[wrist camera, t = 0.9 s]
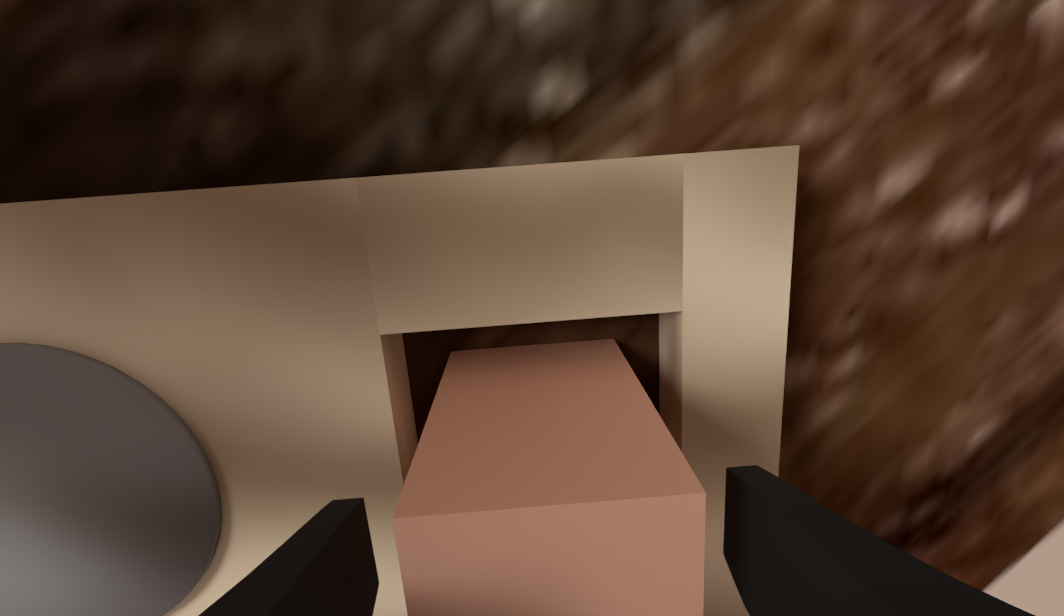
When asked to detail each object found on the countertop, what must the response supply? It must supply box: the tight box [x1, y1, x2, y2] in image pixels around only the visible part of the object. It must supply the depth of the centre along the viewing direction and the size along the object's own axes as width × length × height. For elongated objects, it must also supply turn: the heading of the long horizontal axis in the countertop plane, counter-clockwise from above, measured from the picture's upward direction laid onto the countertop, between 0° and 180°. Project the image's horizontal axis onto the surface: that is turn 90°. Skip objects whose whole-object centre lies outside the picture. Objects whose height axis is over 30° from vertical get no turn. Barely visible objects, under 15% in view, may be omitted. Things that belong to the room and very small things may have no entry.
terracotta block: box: [392, 339, 706, 616], centre depth 11 cm, size 4×4×7 cm
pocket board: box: [0, 145, 799, 616], centre depth 13 cm, size 14×24×2 cm, turn 94°
